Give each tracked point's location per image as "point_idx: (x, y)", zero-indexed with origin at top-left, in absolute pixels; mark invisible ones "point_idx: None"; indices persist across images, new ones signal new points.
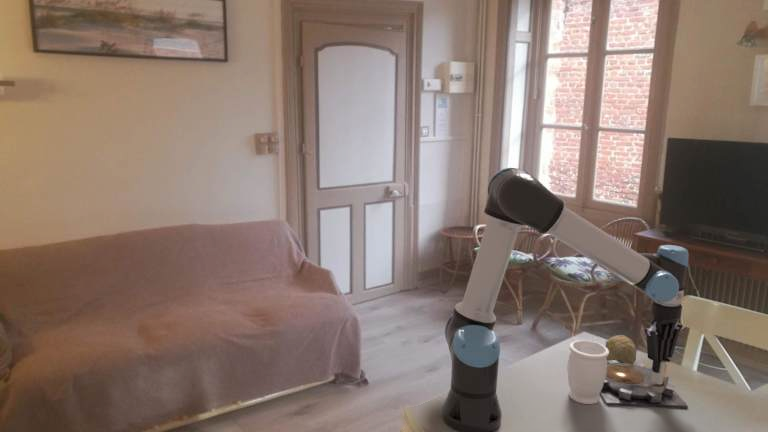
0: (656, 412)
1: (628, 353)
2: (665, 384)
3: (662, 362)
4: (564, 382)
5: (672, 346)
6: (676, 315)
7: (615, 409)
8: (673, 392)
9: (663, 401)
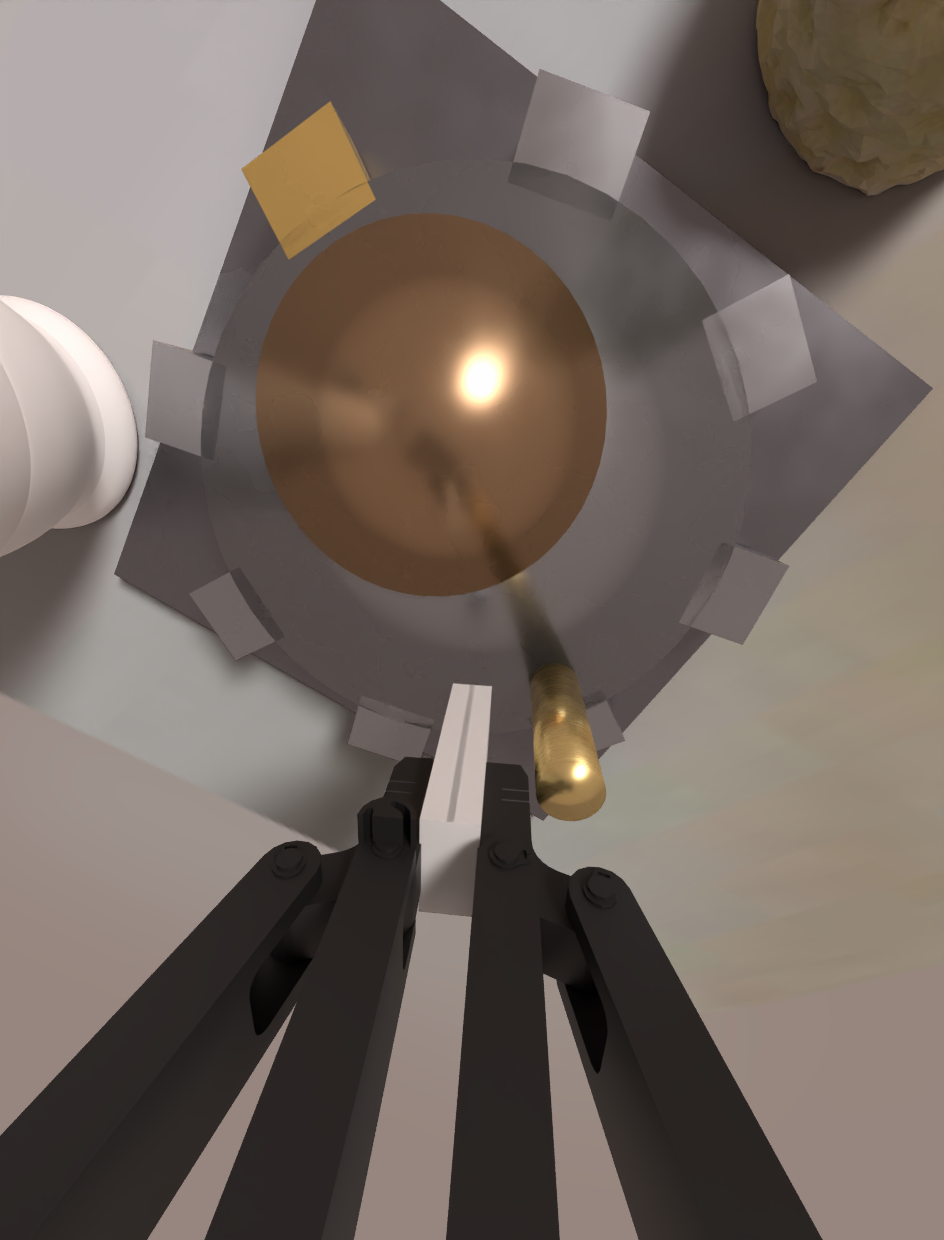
0: (348, 750)
1: (915, 79)
2: (585, 700)
3: (433, 906)
4: (11, 145)
5: (616, 1162)
6: None
7: (151, 624)
8: (622, 707)
9: None
